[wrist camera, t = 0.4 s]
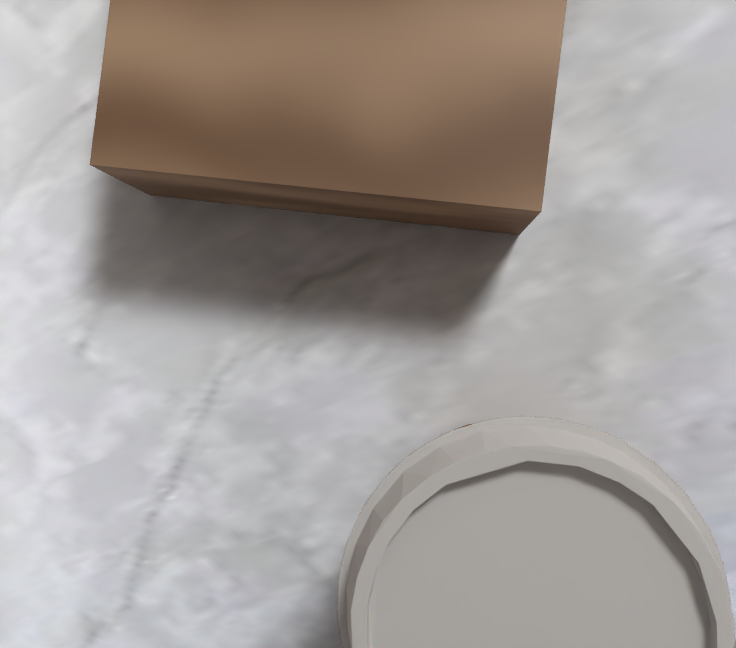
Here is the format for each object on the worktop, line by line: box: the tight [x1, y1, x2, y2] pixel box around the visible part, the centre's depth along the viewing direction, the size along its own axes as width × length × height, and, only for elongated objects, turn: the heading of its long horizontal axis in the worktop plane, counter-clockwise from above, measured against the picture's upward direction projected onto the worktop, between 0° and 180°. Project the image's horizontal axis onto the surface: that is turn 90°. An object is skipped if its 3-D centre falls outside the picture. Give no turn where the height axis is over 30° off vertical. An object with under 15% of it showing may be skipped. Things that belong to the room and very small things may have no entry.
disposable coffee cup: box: [337, 416, 735, 648], centre depth 20 cm, size 10×10×12 cm
